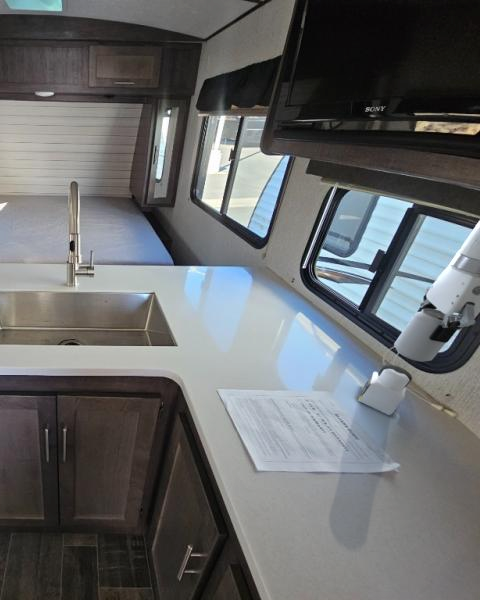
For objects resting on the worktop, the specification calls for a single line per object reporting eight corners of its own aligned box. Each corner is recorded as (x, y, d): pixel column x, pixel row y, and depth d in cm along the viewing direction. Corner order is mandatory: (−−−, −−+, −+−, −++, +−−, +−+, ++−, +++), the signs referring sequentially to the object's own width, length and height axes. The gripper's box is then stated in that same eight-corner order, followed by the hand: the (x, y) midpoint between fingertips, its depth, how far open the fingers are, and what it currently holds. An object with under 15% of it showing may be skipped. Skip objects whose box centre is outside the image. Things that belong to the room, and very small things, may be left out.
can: (421, 366, 77) (452, 326, 71) (385, 348, 83) (412, 309, 77) (437, 359, 80) (469, 319, 74) (401, 341, 86) (428, 303, 80)
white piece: (362, 388, 95) (383, 357, 89) (393, 402, 91) (417, 371, 85) (357, 401, 91) (379, 369, 84) (390, 416, 86) (415, 384, 80)
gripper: (532, 286, 61) (470, 357, 70) (473, 253, 75) (428, 316, 84) (481, 278, 63) (427, 348, 72) (433, 248, 77) (393, 310, 86)
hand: (428, 330), depth 78 cm, fingers closed on can, 7 cm apart
